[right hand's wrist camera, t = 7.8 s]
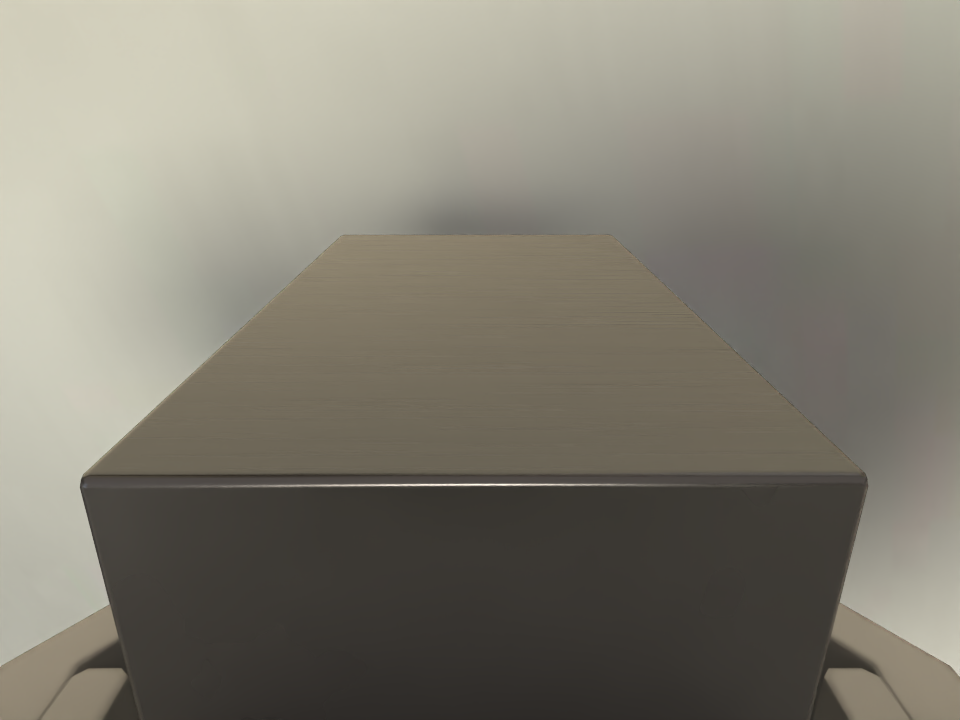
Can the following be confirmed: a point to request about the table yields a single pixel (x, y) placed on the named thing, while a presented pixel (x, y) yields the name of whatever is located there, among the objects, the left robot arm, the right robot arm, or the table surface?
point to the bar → (474, 503)
